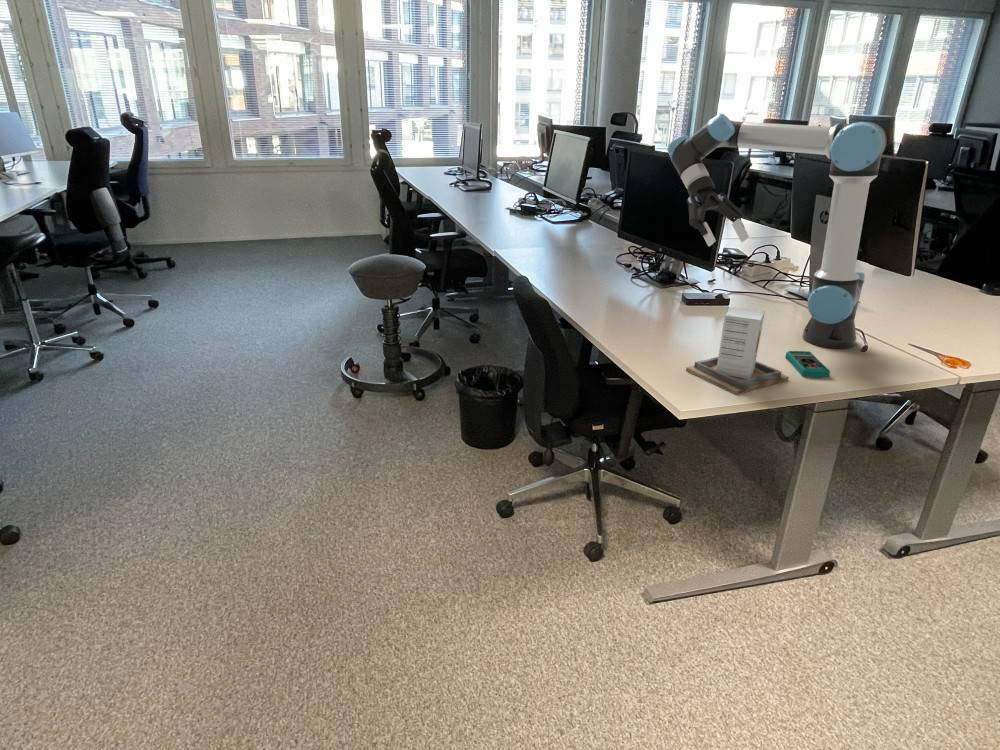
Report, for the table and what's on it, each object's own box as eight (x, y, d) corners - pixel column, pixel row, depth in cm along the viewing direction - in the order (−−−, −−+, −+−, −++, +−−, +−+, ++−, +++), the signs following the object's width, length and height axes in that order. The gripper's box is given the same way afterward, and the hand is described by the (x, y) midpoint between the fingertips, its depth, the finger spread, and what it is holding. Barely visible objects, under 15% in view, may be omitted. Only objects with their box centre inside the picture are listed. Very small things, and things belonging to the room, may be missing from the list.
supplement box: (750, 380, 169) (761, 320, 162) (715, 373, 173) (724, 315, 166) (755, 368, 177) (765, 310, 170) (720, 362, 181) (729, 305, 174)
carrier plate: (736, 358, 186) (737, 350, 185) (788, 380, 172) (789, 371, 171) (685, 370, 177) (686, 362, 176) (736, 394, 163) (737, 385, 162)
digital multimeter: (802, 378, 174) (804, 369, 173) (784, 358, 188) (786, 349, 186) (829, 380, 174) (832, 370, 172) (809, 359, 187) (811, 350, 186)
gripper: (719, 188, 201) (749, 244, 194) (659, 193, 189) (689, 252, 183) (735, 172, 194) (767, 230, 188) (674, 176, 183) (706, 237, 177)
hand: (729, 241), depth 186 cm, fingers open, 13 cm apart
